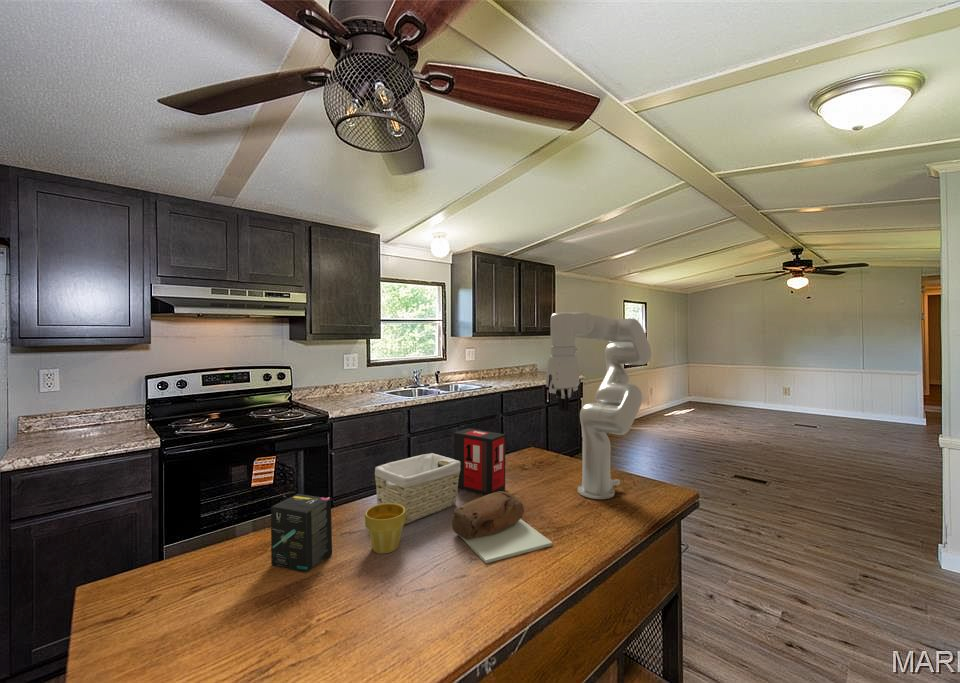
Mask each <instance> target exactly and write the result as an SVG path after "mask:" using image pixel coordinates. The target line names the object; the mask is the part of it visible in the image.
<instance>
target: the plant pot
mask: <svg viewBox="0 0 960 683" xmlns="http://www.w3.org/2000/svg"><path fill="white" fill-rule="evenodd" d="M405 519H406V510H405V508H404V507H403V506H402V505H399V504H395V503H384V504H379V505H377V504H375V505H373V506H371V507H369V508H367V510H366V511H365V513H364V522H365V528H366V530H368V532H369V533H368V534H369V537H370V542H371V547H372V550H373V552H375V553H376V554H389V553H392V552H394V551H396V550H397V549H398V548H399V545H400V542H401V541H400V540H401V535H402V530H403V527H404V525H406V524H405Z"/></svg>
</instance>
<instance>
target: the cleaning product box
mask: <svg viewBox="0 0 960 683" xmlns="http://www.w3.org/2000/svg"><path fill="white" fill-rule="evenodd" d="M453 459H454V460H458V461H460V463H461V464H460V474H459V479H458V490H463V491H466V492H470V493H474V494H476V495H480V496H485V495H488V494H491V493H494V492H498V491H503V492H505V490H506V434H504V433H499V432H492V431H487V430H481V429H480V430H479V429H476V428H465V429H462V430H458V431H455V432H453Z"/></svg>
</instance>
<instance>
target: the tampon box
mask: <svg viewBox="0 0 960 683" xmlns="http://www.w3.org/2000/svg"><path fill="white" fill-rule="evenodd" d="M332 530H333V529H332V499H331V498H329V497H322V496H313V495H308V494H301V493H297V494H295V495H293V496H290V497H289V498H286V499H284V500H282V501H280V502H279V503H276V504H274V505H272V506H271V507H270V539H271V540H270V546H271V548H270V550H271V551H270V553H271V556H270V557H271V560H270V562H271V564H270V565H271V566H272V567H276V568H281V569H287V570H289V571H290V570H291V571H295V572H301V573H304V574H307V573H309V572H310V571H311V570H313V569H314V568H316V567H317V566H319V565H320V564H321V563H322V562H323V561H325V560H326V559H327V558H329V557H330V556H331V555H332V554H333V540H332V539H333V534H332V533H333V532H332Z"/></svg>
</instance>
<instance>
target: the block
mask: <svg viewBox="0 0 960 683" xmlns="http://www.w3.org/2000/svg"><path fill="white" fill-rule="evenodd" d="M524 511H525V510H524V504H523V503H522V501H520V499H519V498H517V497H516V496H515V495H513V494H511V493H509V492H507V491H498V492H494V493H491V494H488V495H485V496H484V495H482V496H481V497H478V498H475V499H473V500H471V501H468V502H466V503H464V504H463V505H462V506H460V507H457V508H454V510H453V517H452V520H451V527H452V530H453V531H454V533H455V534H456V535H458V536H459V535H460V536H461V537H463V538H465V539H472V538H475V537H478V536H479V537H481V536H486V535H490V534H494V533H496V532H499V531H501V530H503V529H505V528H507V527H509V526H511V525H513V524H515V523H517V522H518V521H519V520H520V519H522V516H523V515H524ZM460 536H459V537H460ZM461 537H460V538H461Z"/></svg>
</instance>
